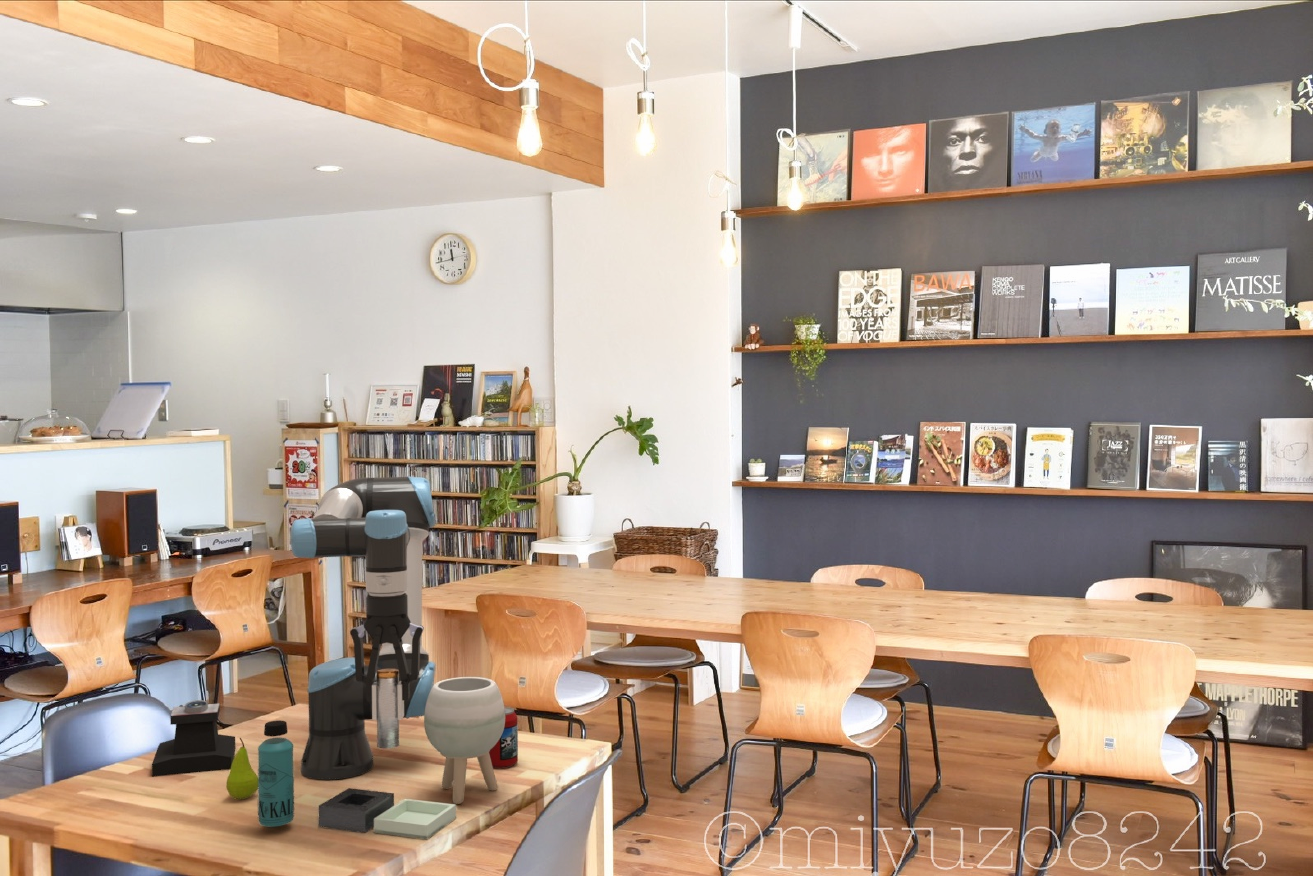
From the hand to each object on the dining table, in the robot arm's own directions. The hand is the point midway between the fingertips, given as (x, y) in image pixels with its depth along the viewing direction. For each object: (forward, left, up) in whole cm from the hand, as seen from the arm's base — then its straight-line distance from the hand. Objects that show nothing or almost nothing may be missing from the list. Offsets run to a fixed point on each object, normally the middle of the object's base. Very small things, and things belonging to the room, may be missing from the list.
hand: (388, 717), depth 209 cm
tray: (+5, +1, -20) cm, 21 cm away
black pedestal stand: (-61, +20, -21) cm, 67 cm away
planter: (+6, +19, -20) cm, 29 cm away
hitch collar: (-7, 0, -20) cm, 21 cm away
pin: (0, 0, -5) cm, 5 cm away
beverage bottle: (-19, -8, -20) cm, 29 cm away
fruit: (-36, +4, -20) cm, 42 cm away
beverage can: (+5, +38, -20) cm, 43 cm away
